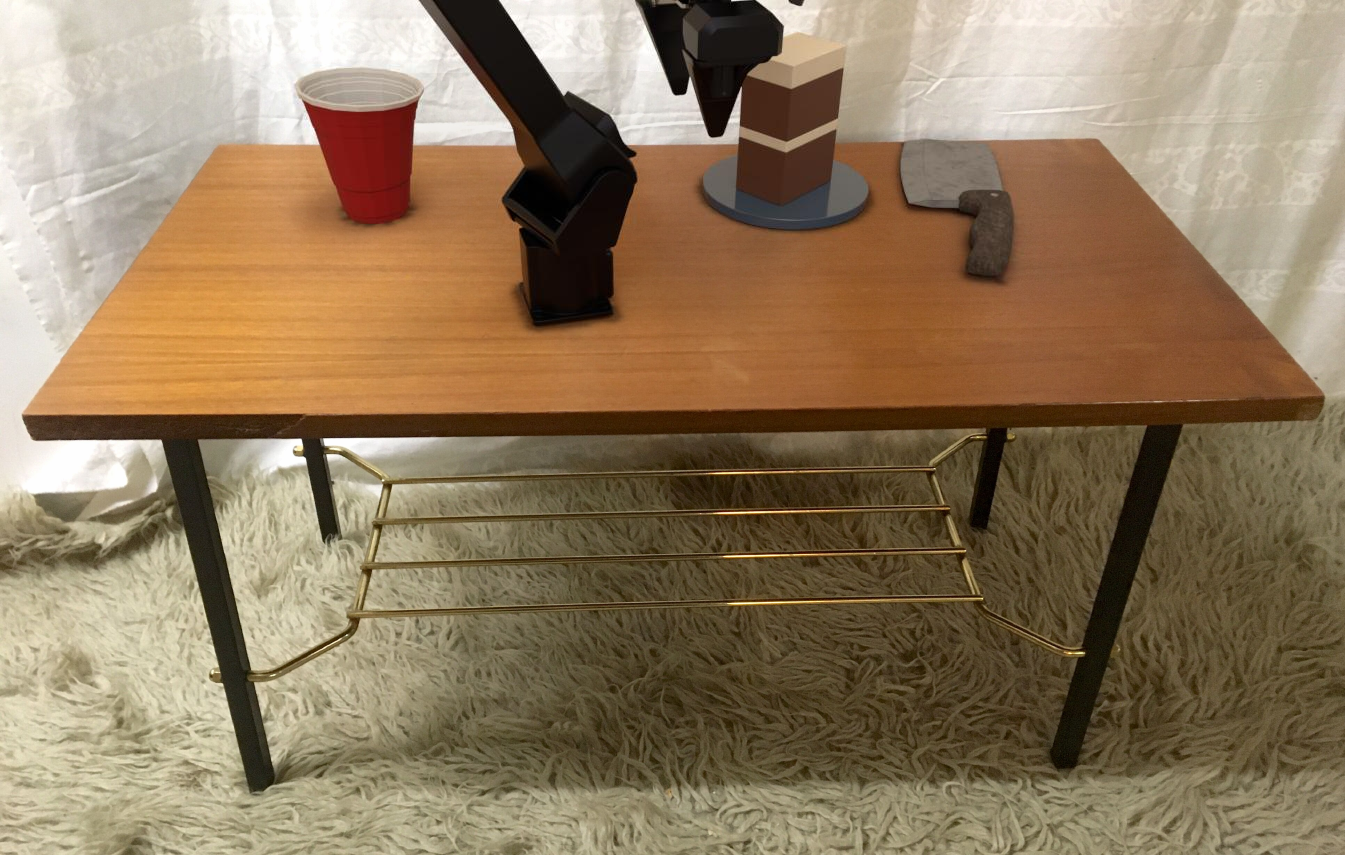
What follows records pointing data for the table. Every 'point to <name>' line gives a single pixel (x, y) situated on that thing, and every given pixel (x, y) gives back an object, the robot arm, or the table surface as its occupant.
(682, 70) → the robot arm
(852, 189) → the plate
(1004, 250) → the cleaver
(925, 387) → the table surface
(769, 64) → the cake slice
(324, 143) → the plastic cup
